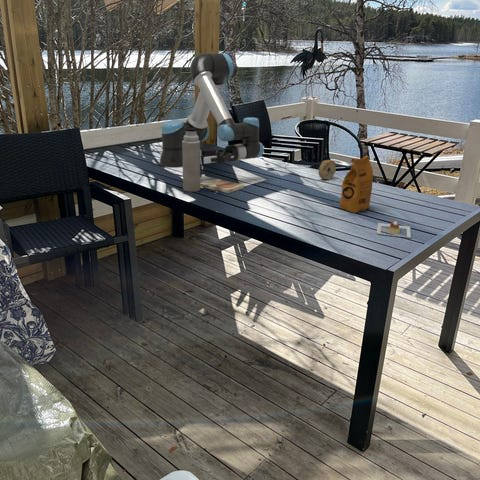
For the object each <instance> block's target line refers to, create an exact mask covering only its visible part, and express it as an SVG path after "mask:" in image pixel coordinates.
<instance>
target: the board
mask: <svg viewBox="0 0 480 480" xmlns="http://www.w3.org/2000/svg"><path fill="white" fill-rule="evenodd" d="M200 188H206V189H209V190H214V191H217V192H222V193H225V194H226V193H227V194H230V193H233V192H236V191H238V190H241V189H244V188H245V184H243V183H239V182H234V181H228V180H225V179H221V178H220V179H219V178H215V177H210V176H206V175H204V176H200Z"/></svg>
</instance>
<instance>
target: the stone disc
mask: <svg viewBox="0 0 480 480" xmlns="http://www.w3.org/2000/svg"><path fill="white" fill-rule="evenodd" d="M336 169H337V168H336V162H335V161H334V160H332V159H325V160H323V161H322V162H321V163H320V165H319V168H318V177H319V178H320V179H323V180H325V179H328V180H330V179H329V178H331V179H332V178H333V177H334V175H335V174H336Z"/></svg>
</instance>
